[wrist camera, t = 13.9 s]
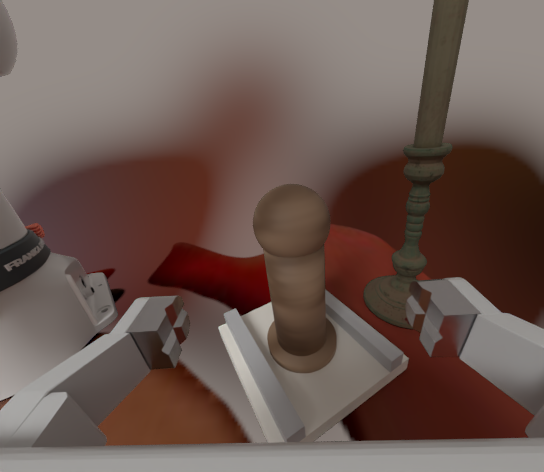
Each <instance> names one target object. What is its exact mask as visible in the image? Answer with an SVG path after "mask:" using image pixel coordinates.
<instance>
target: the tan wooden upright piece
mask: <svg viewBox="0 0 544 472" xmlns="http://www.w3.org/2000/svg"><path fill="white" fill-rule="evenodd" d="M253 228H254V232H255V236H256V238H257V240H258V242H259V244H260V245H261V247H262V248H263V251H264V257H265V264H266V270H267V277H268V283H269V290H270V296H271V302H272V309H273V315H274V321H273V322H272V324H271V326H270V328H269V330H268V335H267V340H268V346H269V351H270V354H271V356H272V358H273V359H274V360H275V362H276V363H277V364H278V365H280V366H281V367H282V368H284V369H286V370H288V371H291V372H295V373H311V372H315V371H318V370H320V369H322V368H324V367H325V366H326V365H327V364H328V363H329V362H330V361H331V360H332V359H333V357H334V355H335V352H336V347H337V336H336V331H335V328H334V326H333V325H332V323H331V322H330V321H329V320H328V319H327V318H326V303H325V259H324V243H325V241H326V239H327V237H328V234H329V230H330V215H329V211H328V208H327V206H326V204H325V202H324V201H323V199H322V198H321V197H320V196H319V195H318V194H317V193H316V192H315V191H313V190H312V189H310V188H308V187H306V186H302V185H297V184H286V185H282V186H279V187H276V188H274V189H272V190H270V191H269V192H268V193H267V194H265V195H264V196H263V198H262V199H261V200H260V202H259V203H258V205H257V207H256V210H255V212H254V218H253Z"/></svg>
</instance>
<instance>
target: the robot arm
mask: <svg viewBox="0 0 544 472" xmlns="http://www.w3.org/2000/svg"><path fill="white" fill-rule="evenodd" d="M16 57H17V40H16V34H15V30H14V26H13V23H12V21H11V18H10V16H9V14H8V11H7V9H6V7H5V6H4V4H3V2H2V0H0V77H2V76H5V75H8V74H10V73H11V71H12V69H13V67H14V64H15V62H16ZM40 227H41V226H40V225H38V223H35V224H32V225H29V226H26V227H25V226H24V225H23V223H22V222H21V220H20V219H19V217H18V215H17V214H16V212H15V211H14V209H13V208H12V206H11V204H10V203H9V201H8V200H7V198H6V197H5V195H4V194H3V192H2V190H1V189H0V401H1V400H3V399H6V398H8V397H11V396H13V395H14V396H13V397H12V398H11V399H10V400H9V402H8V403H7V404H6V405H5V406H4V407H3V408H2V409H1V410H0V472H544V329H542V328H540V327H538V326H536V325H533V324H531V323H529V322H526V321H524V320H522V319H520V318H518V317H515V316H513V315H511V314H509V313H501V312H500V311H499V310H498V309H497V308H496V307H495V306H494V305H492V304H491V303H490V302H489V301H488V300H487V299H486V298H485V297H484V296H483V295H482V294H480V293H479V292H478V291H477V290H476V289H475V288H474V287H473V286H472V285H470V284H469V283H468V282H467V281H466V280H465V279H463V278H460V277H458V278H445V279H435V280H421V281H412V282H411V284H410V287H409V291H410V293H411V294H412V295H411V296H410V297H409V298H408V299H407V300H406V306H405V309H406V316H407V318H408V321H409V323H410V325H411V326H412V328H414V329H415V330H417V331H418V332H420V333H421V334H420V338H419V339H420V341H421V343H422V344H423V346H424V348H425V349H426V351H427V352H428V354H429V356H430V357H460V359H461V360H462V361H464V362H465V363H466V364H467V365H469V366H470V367H471V368H473V369H474V370H475V371H477V372H478V373H479V374H481V375H482V376H483V377H485V378H486V379H487V380H489V381H490V382H491V383H492V384H494V385H495V386H496V387H498V388H499V389H500V390H502V391H503V392H504V393H506V394H507V395H508V396H510V397H511V398H512V399H513V400H515V401H516V402H517V403H519V404H520V405H521V406H523V407H524V408H525V409H527V410H528V411H529V412H531V413H532V414H533V415H535V416H534V418H533V419H532V420H531V421H530V423H529V424H528V425H527V426H526V430H525V433H526V435H527V436H528V437H529V438H493V439H439V440H385V441H335V442H333V441H331V442H278V443H225V444H174V445H122V446H105V444H106V442H107V439H106V436H105V435H104V434H103V432H102V431H101V430H100V429H99V428H98V427H97V426H98V425H99V424H100V423H101V422H102V421H103V420H104V419H105V418H106V417H107V416H108V415H109V414H110V413H111V412H112V411H113V410H114V409H115V408H116V407H117V406H118V405H119V404H120V402H121V401H122V400H123V399H124V398H125V397H126V396H127V395H128V394H129V393H130V392H131V391H132V390H133V389H134V388H135V387H136V386H137V385H138V384H139V383H140V382H141V381H142V379H143V378H144V377H145V376H146V375H147V374H148V373H149V372H150V370H154V369H167V368H175V366H176V364H177V361H178V359H179V356H180V354H181V351H182V349H181V346H180V344H181V343H182V342H184V340H186V338H187V336H188V333H189V327H190V320H189V316H188V313H187V312H186V311H184V310H183V309H182V307H183V305H184V302H183V300H182V298H181V297H180V296H161V297H142V298H138V299H136V300H135V301H134V302H133V304H132V305H131V306H130V308H129V309H128V310H127V312H126V313H125V314H124V315H123V317H122V318H121V320H120V321H119V322H118V323H117V325H116V326H115V327H114V329H113V330H112V331H111V333H110V334H105V335H103V336H102V337H100V338H99V339H97V340H96V341H94V342H93V343H91V344H90V345H88V346H87V347H85V348H84V349H82V348H83V347H84V346H85V345H86V344H87V343H88V342H89V341H90V340H91V339H92V338H93V337H94V336H95V335H96V334H97V333H98V332H99V331H101V330H102V329H104V328H105V327H106V326H108V325H109V324H110V323H112V322H113V321H114V320H115V319H116V318H117V316H118V312H117V309H116V306H115V303H114V300H113V296H112V293H111V290H110V287H109V284H108V281H107V278H106V276H105V275H104V273H92V274H86V273H85V271H84V269H83V268H82V266H81V264H80V263H79V261H78V260H77V259H76V258H73V257H68V256H62V255H59V254H55V253H51V251H50V249H49V248H48V247H47V246H46V245H45V244H44V241H43V240H42V239H41V238H43V237H44V235H45V234H44V230H42V228H40ZM81 349H82V350H81ZM80 350H81V351H80Z"/></svg>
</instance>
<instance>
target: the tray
mask: <svg viewBox="0 0 544 472" xmlns="http://www.w3.org/2000/svg"><path fill="white" fill-rule="evenodd" d="M325 303H326V318H327V319H328V320H329V321H330V322H331V323H332V325H333V326H334V328H335V331H336V336H337V347H336V352H335V355H334V357H333V359H332V360H331V361H330V362H329V363H328V364H327V365H326V366H325V367H324V368H322V369H320V370H318V371H315V372H311V373H295V372H291V371H288V370H286V369H284V368H282V367H281V366H280V365H278V364H277V363H276V362H275V360H274V359H273V358H272V356H271V354H270V351H269V346H268V340H267V335H268V330H269V328H270V326H271V324H272V322H273V321H274V315H273V309H272V302H270V303H268V304H266V305H264V306H262V307H260V308H257V309H255V310H253V311H251V312H249V313H247V314H245V315H243V316H240V315H239V313H238V312H237V310H236V308H235V309H233V310H231V311H229V312H226V313H224V317H225V320H226V324H223V325H221V326H219V327H218V328H219V331H220V335H221V337H222V340H223V342H224V344H225V347H226V349H227V351H228V353H229V356H230V358H231V360H232V363H233V365H234V367H235V370H236V372H237V374H238V377H239V379H240V381H241V384H242V386H243V388H244V390H245V393H246V395H247V397H248V400H249V402H250V404H251V407H252V409H253V411H254V413H255V416H256V418H257V420H258V423H259V425H260V427H261V429H262V432H263V434H264V437H265V439H266V441H267V443H278V442H314V441H315V440H316V439H317V438H319V437H320V436H321V435H323V434H324V433H325V432H326V431H328V430H329V429H330V428H332V427H333V426H334V425H335V424H337V423H338V422H339V421H341V420H342V419H343V418H344V417H346V416H347V415H348V414H349V413H351V412H352V411H353V410H355V409H356V408H357V407H358V406H360V405H361V404H362V403H364V402H365V401H366V400H367V399H369V398H370V397H371V396H372V395H374V394H375V393H376V392H378V391H379V390H380V389H381V388H383V387H384V386H385V385H387V384H388V383H389V382H390V381H392V380H393V379H394V378H396V377H397V376H398V375H399V374H401V373H402V372H403V371H404V370H406V369H407V365H408V360H409V358H408V357H407V356H405V355H404V353H403V352H402V351H401V350H400V349H398V348H397V347H396V346H395V345H393V344H392V343H391V342H390V341H388V340H387V339H386V338H385V337H384V336H382V335H381V334H380V333H379V332H377V331H376V330H375V329H374V328H372V327H371V326H370V325H369V324H367V323H366V322H365V321H364V320H363V319H361V318H360V317H359V316H358V315H356V314H355V313H354V312H353V311H351V310H350V309H349V308H348V307H346V306H345V305H344V304H343V303H342V302H340V301H339V300H338V299H337V298H335V297H334V296H333V295H332V294H330V293H329V292H328V291H327V290H325Z"/></svg>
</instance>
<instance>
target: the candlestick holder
mask: <svg viewBox="0 0 544 472" xmlns="http://www.w3.org/2000/svg"><path fill="white" fill-rule="evenodd" d="M468 1H469V0H434V5H433V12H432V19H431V26H430V33H429V40H428V47H427V55H426V61H425V68H424V76H423V83H422V90H421V97H420V104H419V111H418V118H417V125H416V132H415V140H414V144H412V145H408V146H405V147H404V150H403V151H404V154H405V155H406V156H407V157H408V161H409V162H408V164H407V165H406V166H405V168H404V175H405V177H406V178H407V179H408V180H409V181H411V182H412V183H413V187H412V189H411V191H410V192H409V197H408V199H409V200H408V201H407V203H406V211H407V212H408V216H407V223H406V230H405V243H404V245H403V247H402V248H401V250H398V251H396V252H395V253H393V255H392V262H393V267H394V269H395V271H397V274H396V275H393V276H382V277H378V278H376V279H373V280H372V281H370V282H369V283H368V284H367V285H366V287H365V289H364V296H363V297H364V300H365V303H366V305H367V307H368V308H369V309H370V311H371V312H373V313H374V314H375V315H376V316H377V317H379V318H380V319H382V320H384V321H386V322H388V323H390V324H393V325H396V326H398V327H403V328H408V329H414V328H412V326H411V325H410V323H409V321H408V318H407V316H406V309H405V306H406V300H407V299H408V298H409V297H410V296H411V295H412V294H411V293H410V291H409V287H410V284H411V282H412V281H418V280H416V277H415V276H416V275H419V274H420V273H421V272H422V270H423V269H424V267H425V266H426V263H427V260H426V258H425V257H424V256H423V255H422V254H421V253H420V251H419V247H418V242H419V239H420V237H421V234H422V231H421V229H422V227H423V221H424V214H426V213H427V212H428V210H429V207H430V203H429V196H430V192H429V184H430V183H431V182H434V181H435V180H437V179H439V178H440V177H441V176H442V174H443V173H444V165H443V163H442V160H443V158H444V157H445V156H446V155H447V154H449V153H450V152H451V150H452V145H451V144H448V143H442V139H443V134H444V129H445V123H446V118H447V113H448V107H449V102H450V97H451V92H452V85H453V81H454V75H455V70H456V65H457V59H458V54H459V49H460V44H461V38H462V33H463V27H464V23H465V17H466V11H467V7H468Z"/></svg>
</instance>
